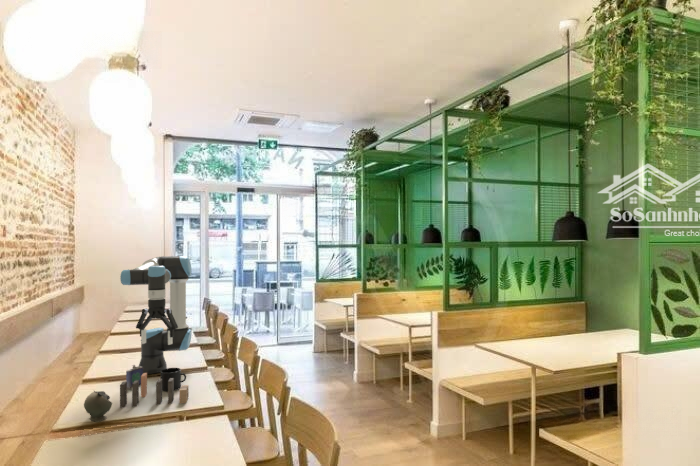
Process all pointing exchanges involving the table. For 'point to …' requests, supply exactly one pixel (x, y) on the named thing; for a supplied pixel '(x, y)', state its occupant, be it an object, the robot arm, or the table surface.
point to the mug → (171, 373)
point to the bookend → (183, 394)
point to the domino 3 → (143, 384)
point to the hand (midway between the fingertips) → (156, 343)
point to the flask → (134, 375)
